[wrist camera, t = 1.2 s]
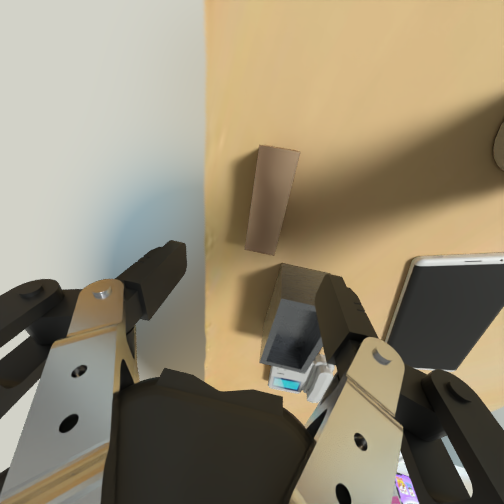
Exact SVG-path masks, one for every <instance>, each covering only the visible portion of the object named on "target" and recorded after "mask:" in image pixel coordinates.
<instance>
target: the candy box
mask: <svg viewBox="0 0 504 504" xmlns="http://www.w3.org/2000/svg"><path fill="white" fill-rule="evenodd" d="M391 504H419V502H418V499H417V496H416V494H415V491H414V488H413V485H412V482H411V479H410V477H408V476H405V475H402V474H399V473H396V479H395V485H394V491H393V497H392V503H391Z"/></svg>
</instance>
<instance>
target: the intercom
mask: <svg viewBox="0 0 504 504" xmlns="http://www.w3.org/2000/svg"><path fill="white" fill-rule="evenodd" d="M333 370H334V365H332V364H328V363H326V358H325V355H321V354H319V355H317V356H316V358H315V359H314V361H313V362H312V364H311V365H310V367H309V368H308V370H307V372H306V373H305V374H303V373H299V372H295V371H291V370H287V369H283V368H279V367H275V366H271V370H270V375H269V381H268V386H269V387H270V388H272V389H276V390H281V391H286V392H291V393H300V392H301V391H302V390H303V392H304V393H307V401H309V402H312V403H318V402H319V401H320V400H321V398H322V396H323V395H324V393H325V391H326V389H327V388H328V386H329V384H330V383H331V381H332V379H333Z"/></svg>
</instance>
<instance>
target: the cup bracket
mask: <svg viewBox="0 0 504 504" xmlns="http://www.w3.org/2000/svg"><path fill="white" fill-rule="evenodd" d="M326 274H330V273H326V272H321V271H316V270H312V269H307V268H302V267H298V266H293V265H288V264H284V263H282V264H281V268H280V271H279V275H278V278H277V281H276V285H275V288H274V291H273V295H272V298H271V301H270V305H269V308H268V311H267V315H266V318H265V321H264V326H263V335H262V344H261V353H260V362H259V363H262V364H266V365H271V366H275V367H279V368H283V369H287V370H291V371H295V372H299V373H303V374H305V373H306V372H307V370H308V368H309V367H310V365H311V364H312V362H313V361H314V359H315V358H316V356H317V354H318V353H319V351H320V350H321V348H322V347H323V343H322V338H321V333H320V328H319V323H318V318H317V314H316V309H315V295H316V293H317V291H318V289H319V287H320V284H321V282H322V280H323V278H324V276H325V275H326Z"/></svg>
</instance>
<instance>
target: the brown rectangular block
mask: <svg viewBox="0 0 504 504" xmlns="http://www.w3.org/2000/svg"><path fill="white" fill-rule="evenodd" d="M299 156H300V152H299V151H296V150H290V149H284V148H278V147H273V146H267V145H259V152H258V159H257V166H256V173H255V180H254V187H253V194H252V201H251V208H250V215H249V222H248V229H247V236H246V243H245V250H248V251H253V252H258V253H263V254H268V255H273V256H274V255H275V251H276V247H277V243H278V239H279V235H280V231H281V227H282V223H283V219H284V216H285V212H286V208H287V204H288V200H289V196H290V192H291V188H292V184H293V180H294V176H295V172H296V168H297V164H298V160H299Z"/></svg>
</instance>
